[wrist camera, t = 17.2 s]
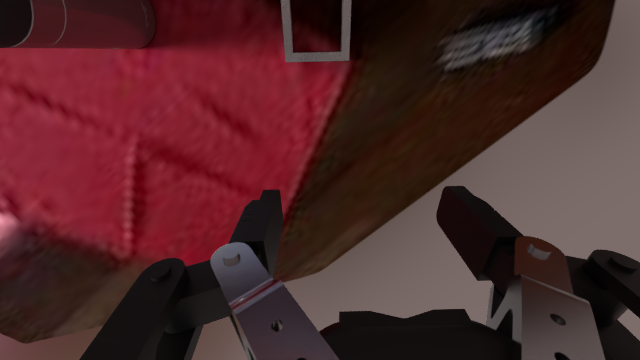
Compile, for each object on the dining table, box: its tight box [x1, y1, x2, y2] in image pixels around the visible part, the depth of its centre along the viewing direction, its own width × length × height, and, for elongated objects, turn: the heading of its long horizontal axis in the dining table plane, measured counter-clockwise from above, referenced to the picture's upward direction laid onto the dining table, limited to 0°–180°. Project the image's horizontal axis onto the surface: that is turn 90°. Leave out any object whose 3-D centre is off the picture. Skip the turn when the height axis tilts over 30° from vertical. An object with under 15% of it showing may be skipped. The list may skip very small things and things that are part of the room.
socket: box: [281, 0, 351, 62], centre depth 34 cm, size 10×10×2 cm
